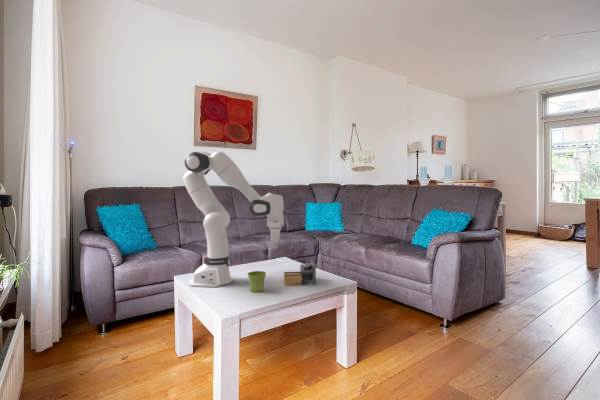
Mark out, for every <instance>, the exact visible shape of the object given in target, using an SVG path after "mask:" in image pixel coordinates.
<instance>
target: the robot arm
mask: <svg viewBox="0 0 600 400" xmlns="http://www.w3.org/2000/svg"><path fill="white" fill-rule="evenodd" d="M184 167H185V168H186V169H187V170H188V171H186V173H184V175H183V176H182V180H183V183H184V187H185V188H186V191H187V193H188V194H189V196H190V198H191V200H192V201H193V203H194V204H195V206H196V208H198V209H199V210H200V212H201V213H202V214H203V215H204V219H203V221H202V224H203V228H204V232H205V233H204V234H205V238H206V244H207V246H206V247H207V248H206V249H207V251H206V253H207V255H204V258H203V264H201V265H200V266H199V267H198V268H197V269H195V271H194V273H193V277H192V278H191V279H190V280H189V281H188V286H189V287H202V288H203V287H204V288H205V287H206V288H207V287H208V288H218V287H221V286H223V285H227V284H229V283H231V282H232V281H233V278H232V276H231V272H230V255H229V240H228V235H227V227H228V226H229V224H230V222H231V216H230V214H229V212H228V211H227V210H226V208H225V207H224V205H222V203H221V202H220V200H218V198H217V197H216V196H215V194H214V192H213V191H212V189H211V187H210V185H209V184H208V182H207V180H206V178H205V176H206V175H207V174H208V173H209V172H210V171H213V172H214V173H215V174H216V175H217V177H218V178H219V179H220V181H222V182H223V183H225V184H226V185H227V186H229V187H232V188H234V189H235V190H236V189H237V190H238V191H240V192H241V193H242V195H244V196H245V198H246V199H247V200H248V201H249V206H248V210H249V212H250V214H251V215H252V216H254V217H256V218H257V217H259V218H260V217H264V216H266V226H267V227H268V228H269V231H270V233H269V234H270V238H271V243H272V244H273V249H274V250H277V249H278V244H279V242H280V237H281V229H282V227H284V224H285V223H284V220H285V219H284V213H283V212H284V209H285V207H284V206H285V205H284V198H283V197H284V196H283V195H282V194H281V193H279V192H275V191H274V192H273V191H269V192H267V193H266V194H264V195H263V196H262V195H260V194H259V193H258V192H257V191H256V190H255V189H254V187H253V186H252V185H251V184H250V183H249V182H248V180H247V179H246V177H245V176H244V174H243V173H242V171H241V169H240V168H239V166H238V165H237V164H236V163H235V162H234V161H233V160H232V158H230V157H229V155H227V154H226V153H225V152H224V151H220V150H218V151H215V152H214V153H212V154H210V153H209V152H205V151H199V150H198V151H192V152H189V153H187V154H186V156H185V158H184Z"/></svg>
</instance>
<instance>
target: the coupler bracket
mask: <svg viewBox="0 0 600 400" xmlns="http://www.w3.org/2000/svg"><path fill="white" fill-rule="evenodd" d="M299 270H300V271H299V272H300V273H301V276H302V280H310V281H311V284H312V286H316V285H317V283H316V279H317V275H316V274H317V267H316V264H315V261H314V260H310V262H305V263H303V264H300V269H299Z"/></svg>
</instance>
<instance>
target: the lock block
mask: <svg viewBox="0 0 600 400" xmlns="http://www.w3.org/2000/svg"><path fill="white" fill-rule="evenodd" d="M302 280H303V279H302V276H301V273H300V271H283V282H284V283H283V284H284V286H299V285H300V286H302Z"/></svg>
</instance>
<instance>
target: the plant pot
mask: <svg viewBox="0 0 600 400" xmlns="http://www.w3.org/2000/svg"><path fill="white" fill-rule="evenodd" d="M266 275H267V272H266V271H261V270H253V271H250V272H248V273H247V275H246V276H248V281H249V287H250V292H253V293H260V292H263V290H264V286H265V279H266Z"/></svg>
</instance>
